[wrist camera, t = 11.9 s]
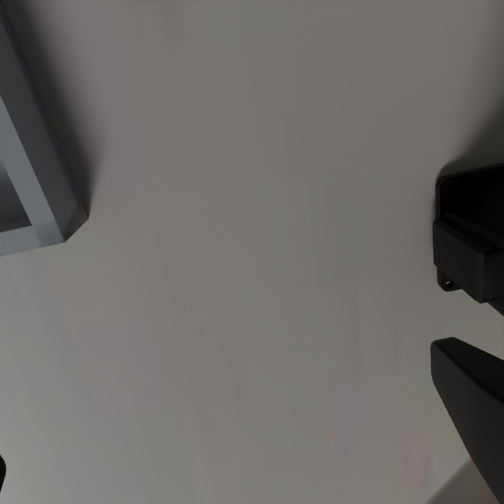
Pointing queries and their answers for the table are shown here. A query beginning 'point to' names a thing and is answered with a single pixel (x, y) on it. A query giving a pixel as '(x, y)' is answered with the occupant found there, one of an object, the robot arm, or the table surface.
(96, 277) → the table surface
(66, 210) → the tray
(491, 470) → the robot arm
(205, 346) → the table surface
